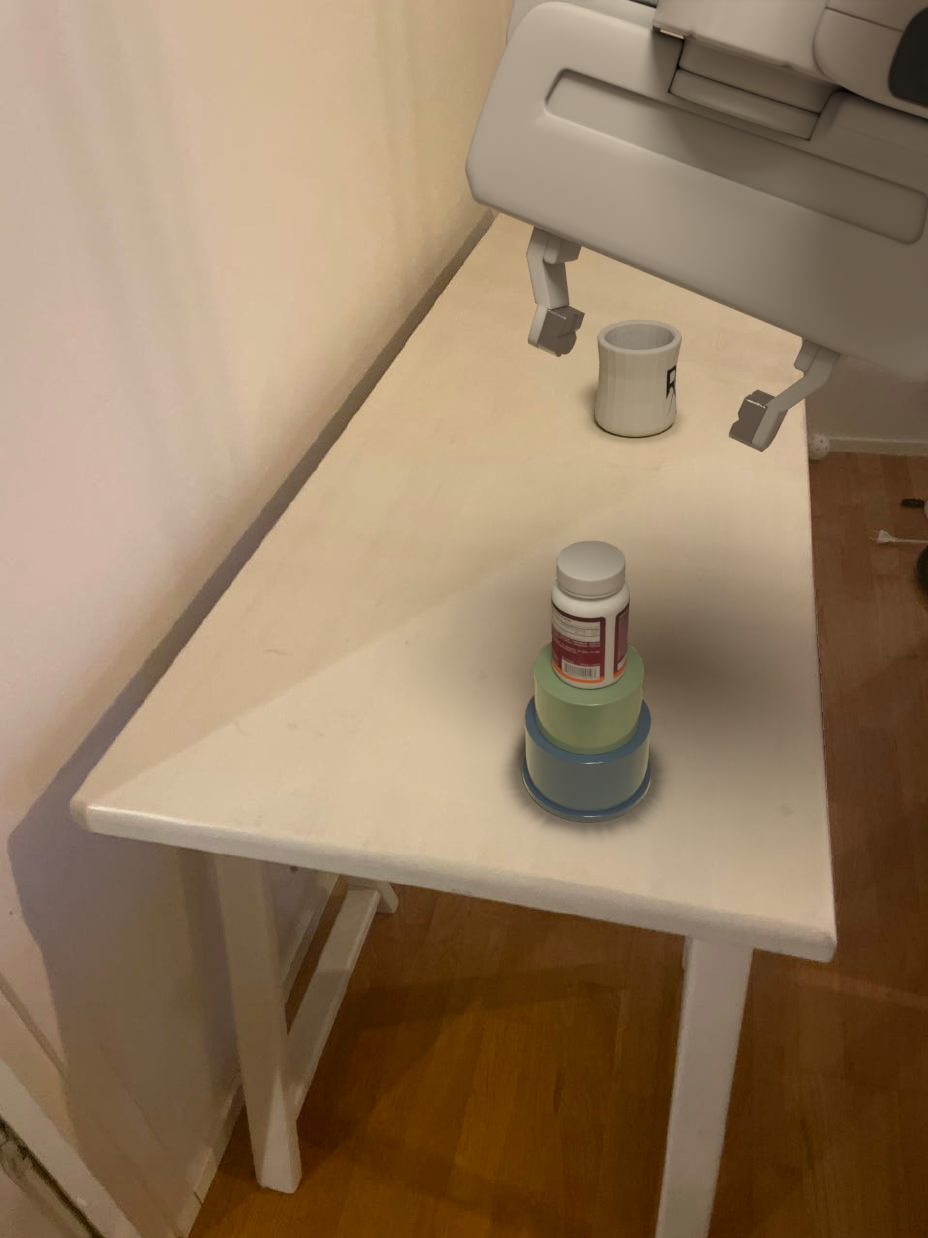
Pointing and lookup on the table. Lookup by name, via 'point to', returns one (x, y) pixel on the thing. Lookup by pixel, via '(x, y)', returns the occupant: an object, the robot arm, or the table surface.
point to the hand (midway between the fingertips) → (644, 393)
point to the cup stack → (587, 743)
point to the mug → (637, 377)
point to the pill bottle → (590, 615)
